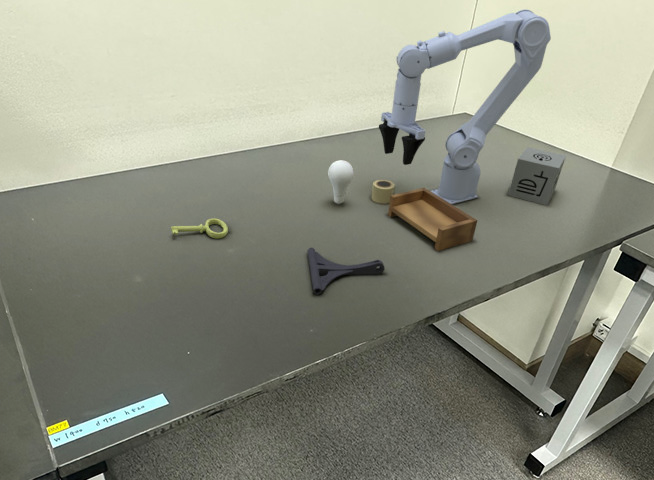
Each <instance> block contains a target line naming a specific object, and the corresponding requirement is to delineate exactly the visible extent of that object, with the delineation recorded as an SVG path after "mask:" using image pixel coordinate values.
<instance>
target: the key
mask: <svg viewBox="0 0 654 480" xmlns="http://www.w3.org/2000/svg"><path fill="white" fill-rule="evenodd" d="M211 225H218V226H220V227H221V228H222V231H221V232H216V231H213V230H211V228H210V226H211ZM170 231H171V233H172V235H174V236H175V235H179V233H184V232H185V233H187V232H188V233H190V232H199V233H200V234H203V232H205V233H206V234H207V236H208V237H210V238H212V239H223V238H225V237H226V236H227V234H228V233H229V228H228V225H227V224H226V222H224V221H223V220H221V219H219V218H216V217H215V218H209V219H207V220H206V221H205V224H204V225H203V224H202V223H200V224H199V225H176V226H175V225H173V226H171V227H170Z"/></svg>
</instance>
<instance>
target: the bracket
mask: <svg viewBox="0 0 654 480" xmlns="http://www.w3.org/2000/svg"><path fill="white" fill-rule="evenodd" d="M307 258H308V265H309V271H310V277H311V278H310V280H311V285H312V292H313V294H314V295H316V296H320V295H321V294H322V292H325V289H326V287H328V285H329V284H330V283H331V282H332V281H334V280H335V279H337V278H338V277H341V276H344V275H345V276H350V275H353V276H354V275H355V276H356V275H357V276H358V275H359V276H361V275H380V274H382V273H384V271H385V265H384V262H383V261H382V260H380V259H375V260H372V261H371V260H370V261H368V262H363V263H358V264H348V265H347V264H343V263H342V264H341V263H337V262H334V261H332V260H329V259H327V258H325V257H324V256H322V255H321V254H320V252H318V251H316V249H315V247H309V248H308V249H307Z"/></svg>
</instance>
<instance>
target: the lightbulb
mask: <svg viewBox="0 0 654 480" xmlns="http://www.w3.org/2000/svg"><path fill="white" fill-rule="evenodd" d="M327 174H328V177H327V178H328V179H329V182H330V184H331V187H332V193H333V202H334V203H335V204H337V205H340V204H343V203H344V202H345V197H346V196H345V195H346V194H347V189H348V187H349V185H350V184H351V182H352V180H353V179H354V174H355V171H354V168H353V166H352V164H351V163H350V162H348V161H346V160H345V159H344V160H343V159H342V160H341V159H338V160H336V161H333V162H332V163H331V165H330V166H329V167H328V170H327Z"/></svg>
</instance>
